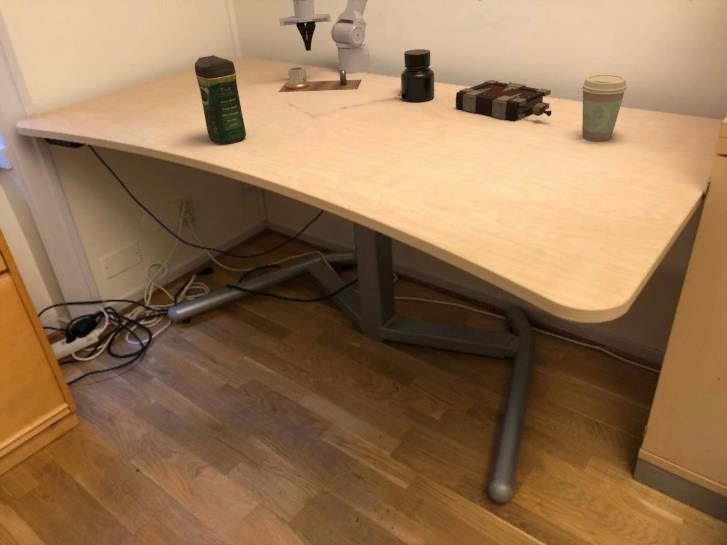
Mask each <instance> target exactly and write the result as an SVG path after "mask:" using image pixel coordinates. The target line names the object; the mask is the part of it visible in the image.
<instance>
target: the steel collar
mask: <svg viewBox="0 0 727 545" xmlns="http://www.w3.org/2000/svg"><path fill="white" fill-rule="evenodd" d="M293 69H299V70H293ZM306 72H307V70H306V67H304V66H295V67H289V68H288V69H287V77H288V82H289V84H290V85H302V84H306V83H307V81H308V80H307V73H306Z"/></svg>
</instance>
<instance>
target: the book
mask: <svg viewBox="0 0 727 545" xmlns="http://www.w3.org/2000/svg"><path fill="white" fill-rule="evenodd" d="M551 92H552V90H551V89H548V88H536V87H529V86H527V85H525V84H523V83H517V82H512V81H509V82H508V83H505V82H501V81H499V80H494V79H490V80H486V81H484V82H482V83H480V84H477V85H475V86H471V87H469V88H468V87H466V88H465V87H464V88H462V89H460V90H458V91H456V94H455V107H456V109H459V110H461V111H465V113H471V114H476V113H478V114H482V115H487V116H491V117H493V118H494V119H499V120H503V121H505V120H510V121H514V122H515V121H521V120H523V119H525V118H526V117H527V116H531V115H532V114H533V115H534V116H536V117H540V116H542V115H543V114H545V115H546V116H547V117H551V115H552V110H547V109H549V108H550V104H551V103H549V102H543V101H544V100H543V99H544V97H548V96H549V95H551Z"/></svg>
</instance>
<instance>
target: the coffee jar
mask: <svg viewBox="0 0 727 545" xmlns="http://www.w3.org/2000/svg"><path fill="white" fill-rule="evenodd" d="M194 72H195V77H196V81H197V86H198V87H199V94H200V97H201V102H202V103H201V104H202V107H203V115H204V120H205V125H206V131H207V135H208V138H209V139H210V140H211V141H213V142H215V143H218V144H228V143H229V144H233V143H238V142H239V141H241V140H243V139H245V138H246V136H247V132H246V125H245V120H244V117H243V116H244V115H243V111H242V105H241V101H240V96H239V95H240V94H239V89H238V84H237V83H238V82H237V73H236V69H235V65H234V62H233V61H232V60H229V59H227V58H223V57H219V56H216V55H215V54H214V55H207V56H201V57H198V59H197V60H196V61H195V63H194Z"/></svg>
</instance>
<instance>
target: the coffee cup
mask: <svg viewBox="0 0 727 545" xmlns="http://www.w3.org/2000/svg"><path fill="white" fill-rule="evenodd" d="M627 87H628V86H627V82H626V78H625V77H623V76H621V75H615V74H594V75H589V76H587V77H586V78H585V80H584V83H583V84H582V87H581V90H582V122H581V124H582V126H581V127H582V131H581V132H582V134H581V136H582V138H583V139H585V140H588V141H593V142H604V141H605V142H606V141H609V140H611V139H612V136H613V133H614V131H615V126H616V122H617V120H618V117H619V113H620V112H619V111H620V109H621V105H622V102H623V98H624V95H625V92H626V91H628V88H627Z"/></svg>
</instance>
